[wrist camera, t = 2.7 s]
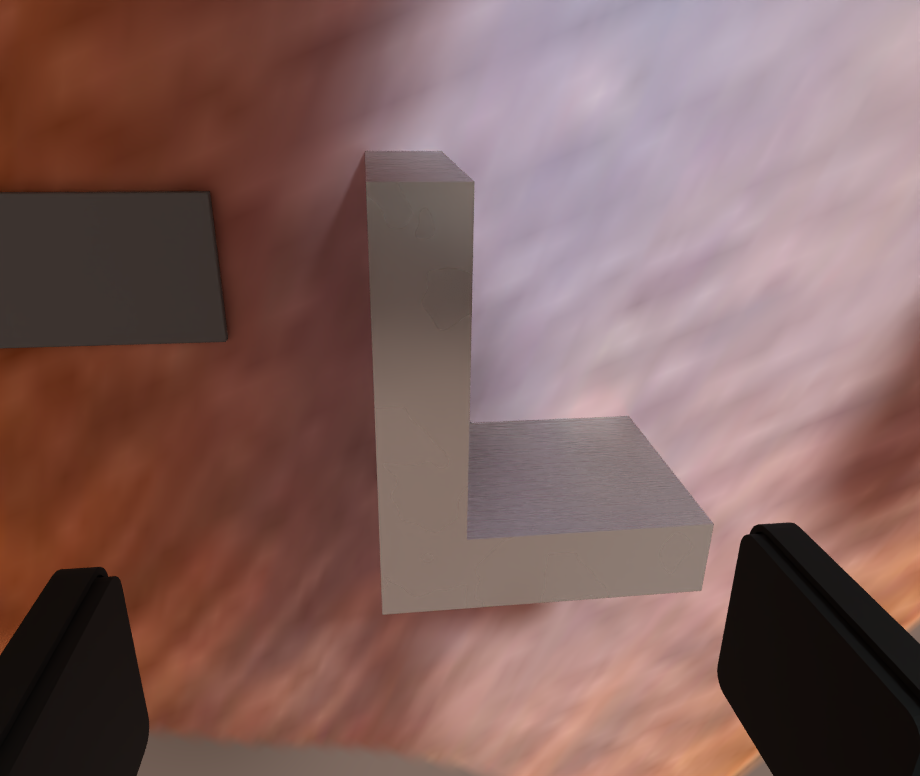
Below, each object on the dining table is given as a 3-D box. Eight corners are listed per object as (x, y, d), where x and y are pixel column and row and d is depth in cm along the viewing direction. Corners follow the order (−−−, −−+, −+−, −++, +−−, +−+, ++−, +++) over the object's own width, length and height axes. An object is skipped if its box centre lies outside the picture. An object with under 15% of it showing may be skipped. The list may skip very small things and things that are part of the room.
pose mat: (209, 191, 18) (207, 193, 18) (250, 518, 22) (249, 524, 22) (-314, 193, 17) (-325, 195, 17) (-170, 542, 21) (-177, 548, 21)
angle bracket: (365, 150, 18) (365, 182, 13) (660, 151, 19) (777, 180, 14) (377, 484, 22) (382, 614, 17) (622, 470, 23) (701, 590, 18)
